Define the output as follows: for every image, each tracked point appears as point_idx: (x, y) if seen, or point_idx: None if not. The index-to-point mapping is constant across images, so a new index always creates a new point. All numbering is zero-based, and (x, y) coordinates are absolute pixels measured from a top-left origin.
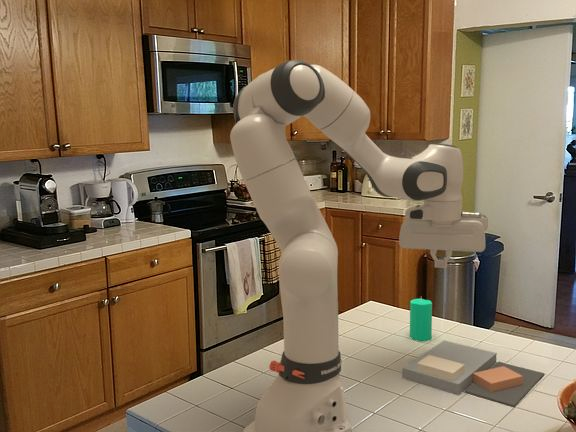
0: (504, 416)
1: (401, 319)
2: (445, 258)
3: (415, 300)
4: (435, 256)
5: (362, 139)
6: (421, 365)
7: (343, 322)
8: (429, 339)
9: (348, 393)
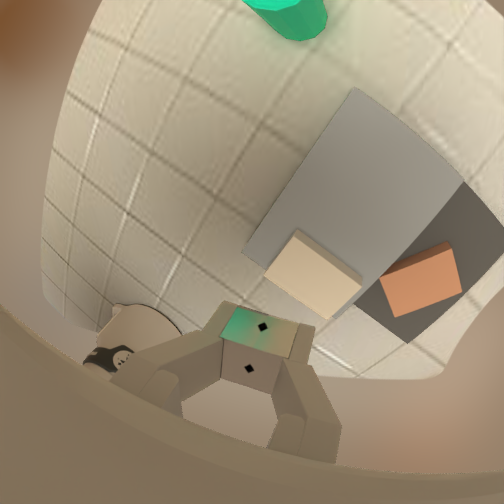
0: (381, 360)
1: None
2: (284, 378)
3: None
4: (190, 383)
5: None
6: (272, 280)
7: None
8: (321, 30)
9: (174, 289)
